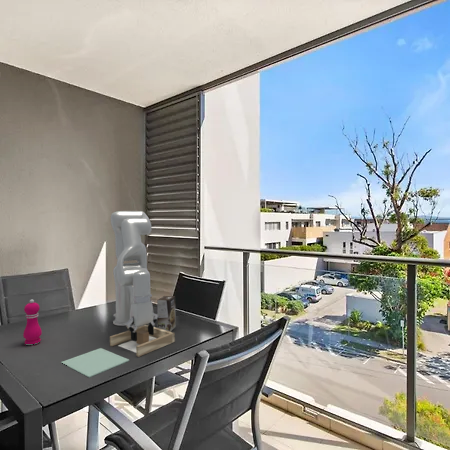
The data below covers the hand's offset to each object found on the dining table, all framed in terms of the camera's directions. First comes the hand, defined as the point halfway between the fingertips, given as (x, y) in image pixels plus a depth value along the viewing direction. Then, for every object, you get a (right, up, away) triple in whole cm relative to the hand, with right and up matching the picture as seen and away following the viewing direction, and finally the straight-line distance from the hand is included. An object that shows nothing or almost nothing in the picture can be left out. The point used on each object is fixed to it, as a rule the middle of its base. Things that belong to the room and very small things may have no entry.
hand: (142, 337), depth 149 cm
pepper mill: (-50, -4, +2) cm, 50 cm away
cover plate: (0, -4, 0) cm, 4 cm away
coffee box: (+8, -3, +18) cm, 20 cm away
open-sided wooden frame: (0, -3, 0) cm, 3 cm away
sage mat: (-14, -3, -18) cm, 23 cm away
